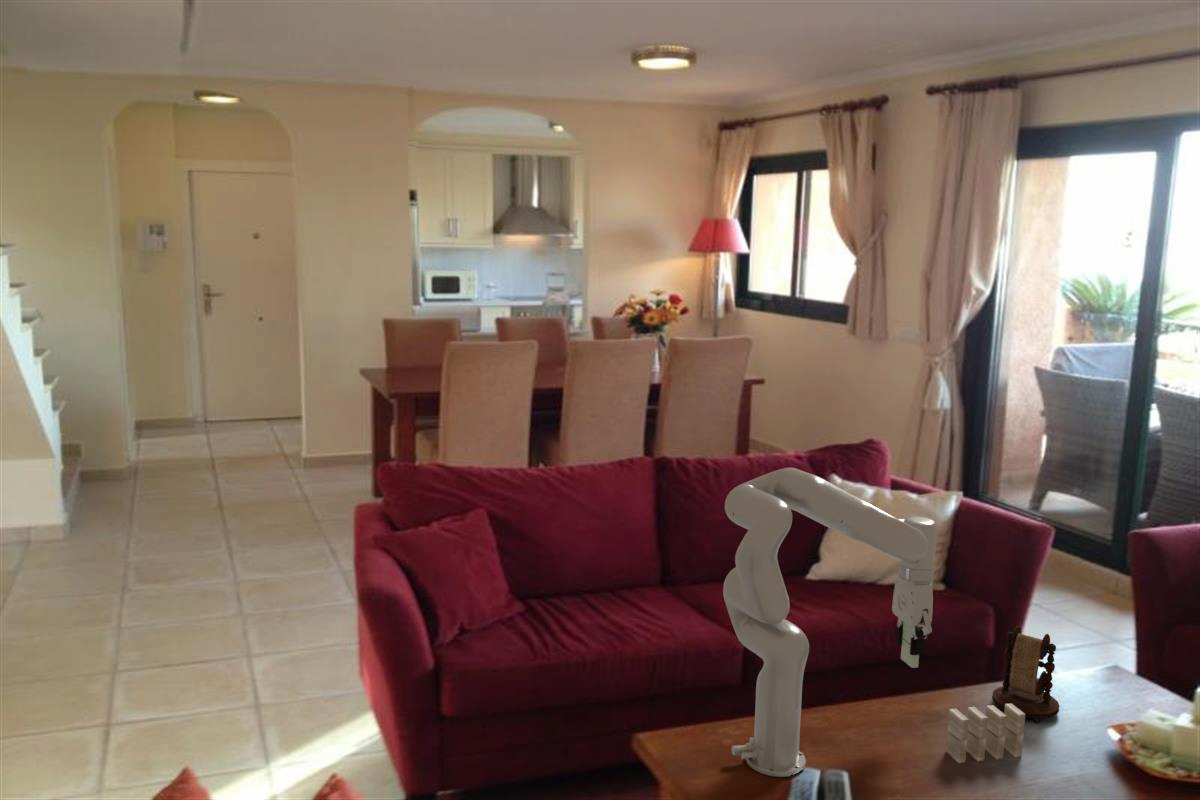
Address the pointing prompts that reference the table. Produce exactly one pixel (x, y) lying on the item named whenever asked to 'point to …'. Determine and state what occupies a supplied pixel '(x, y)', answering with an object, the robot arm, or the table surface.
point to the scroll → (1027, 676)
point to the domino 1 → (908, 647)
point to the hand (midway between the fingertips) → (910, 648)
